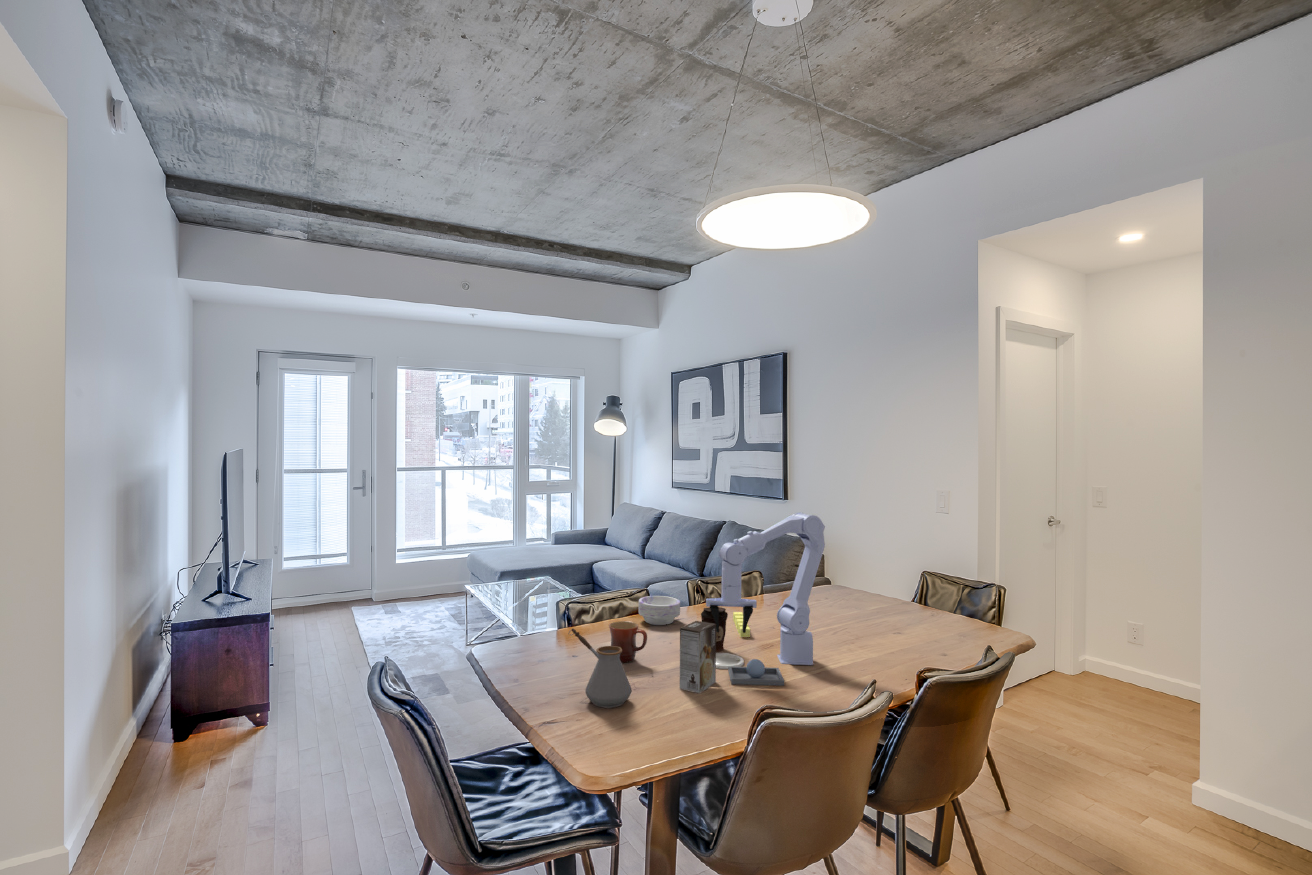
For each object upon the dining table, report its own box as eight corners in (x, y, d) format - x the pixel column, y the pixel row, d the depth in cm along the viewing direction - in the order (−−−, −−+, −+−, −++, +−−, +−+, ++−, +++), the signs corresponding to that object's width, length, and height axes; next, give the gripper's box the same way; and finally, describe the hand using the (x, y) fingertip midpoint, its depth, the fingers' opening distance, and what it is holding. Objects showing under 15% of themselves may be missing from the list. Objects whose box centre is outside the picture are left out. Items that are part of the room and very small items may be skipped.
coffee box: (695, 678, 178) (696, 619, 178) (716, 683, 175) (717, 623, 175) (678, 688, 170) (679, 627, 171) (700, 694, 167) (701, 631, 167)
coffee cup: (725, 655, 198) (726, 613, 198) (698, 653, 200) (699, 611, 200) (728, 647, 207) (729, 606, 207) (702, 645, 208) (703, 604, 209)
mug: (602, 661, 191) (603, 626, 191) (616, 653, 199) (617, 619, 199) (639, 668, 186) (640, 632, 186) (652, 659, 194) (653, 624, 194)
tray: (778, 674, 183) (778, 667, 183) (784, 687, 173) (784, 680, 173) (728, 672, 183) (728, 666, 183) (731, 685, 173) (731, 678, 173)
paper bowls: (681, 628, 228) (681, 605, 229) (637, 627, 228) (638, 604, 228) (678, 616, 244) (679, 595, 244) (638, 616, 243) (638, 594, 243)
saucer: (741, 657, 197) (741, 653, 197) (745, 670, 185) (745, 666, 185) (701, 656, 197) (701, 652, 197) (703, 669, 185) (703, 665, 185)
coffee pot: (641, 702, 161) (642, 641, 161) (605, 715, 153) (606, 651, 153) (587, 679, 176) (588, 623, 176) (552, 690, 168) (553, 631, 168)
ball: (757, 674, 181) (758, 656, 182) (767, 680, 177) (769, 661, 177) (742, 675, 179) (743, 657, 179) (752, 681, 175) (753, 662, 175)
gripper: (754, 582, 193) (754, 628, 193) (705, 581, 194) (705, 627, 194) (757, 587, 186) (757, 635, 186) (707, 586, 187) (706, 633, 187)
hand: (730, 631), depth 189 cm, fingers open, 7 cm apart
